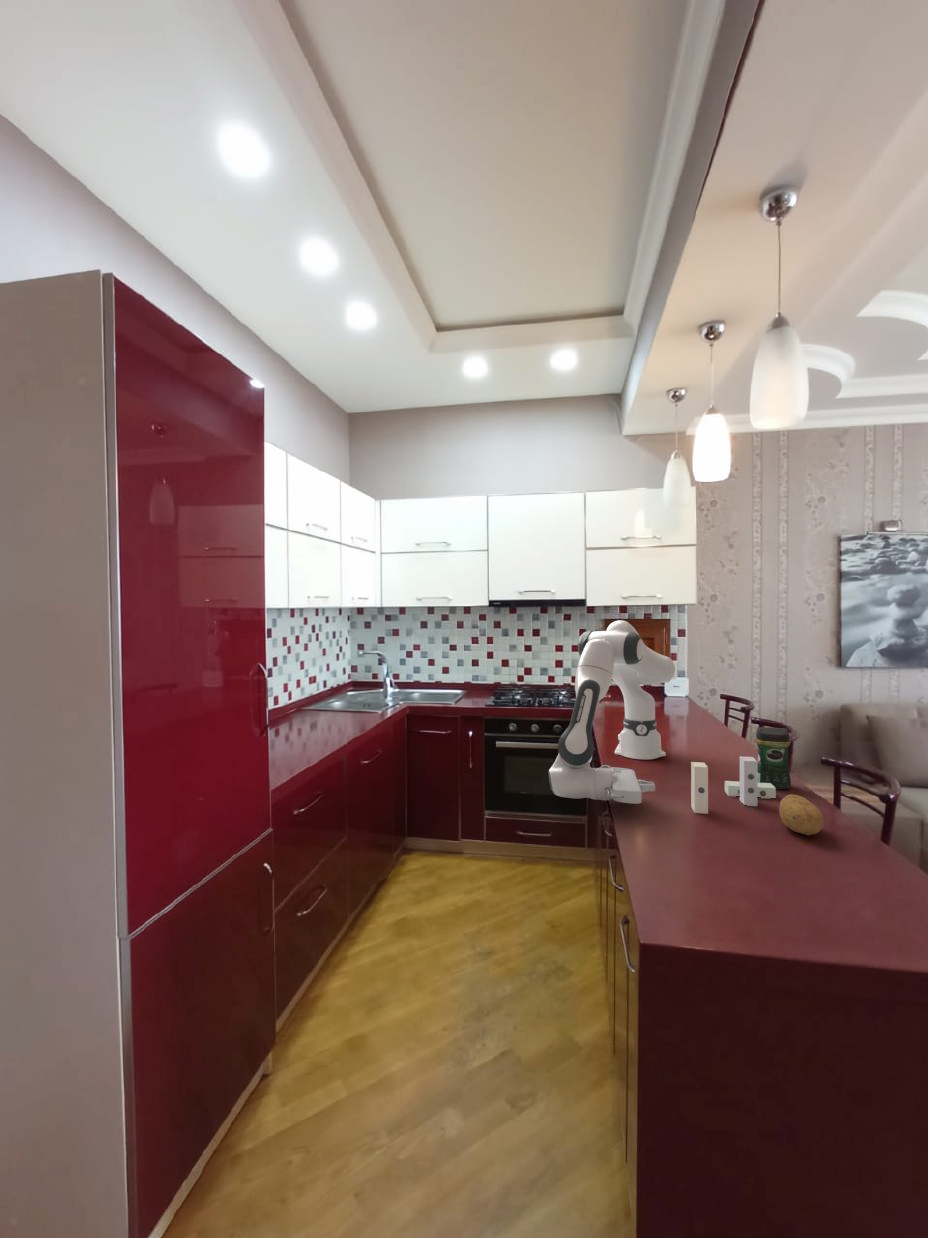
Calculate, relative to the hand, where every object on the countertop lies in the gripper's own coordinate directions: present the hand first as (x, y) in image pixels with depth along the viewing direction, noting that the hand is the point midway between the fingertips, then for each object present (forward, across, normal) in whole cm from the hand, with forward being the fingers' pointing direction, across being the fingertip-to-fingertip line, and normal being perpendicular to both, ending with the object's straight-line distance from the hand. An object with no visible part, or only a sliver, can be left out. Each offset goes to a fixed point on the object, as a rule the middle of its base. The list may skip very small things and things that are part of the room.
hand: (654, 786), depth 156 cm
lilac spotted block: (+27, +8, +6) cm, 29 cm away
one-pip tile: (+12, 0, +6) cm, 13 cm away
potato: (+34, -11, +6) cm, 36 cm away
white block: (+23, +16, +5) cm, 28 cm away
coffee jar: (+39, +25, +6) cm, 47 cm away
